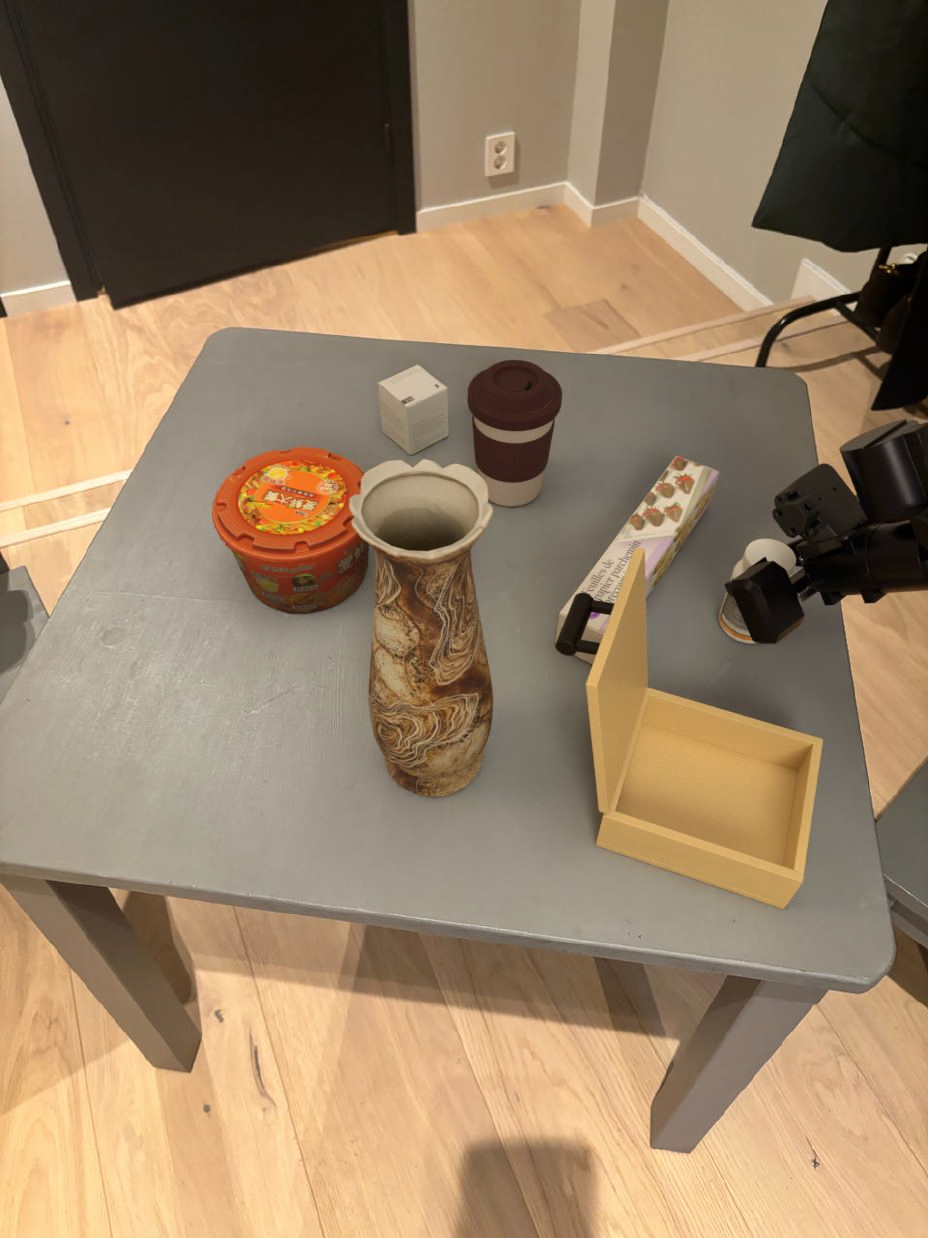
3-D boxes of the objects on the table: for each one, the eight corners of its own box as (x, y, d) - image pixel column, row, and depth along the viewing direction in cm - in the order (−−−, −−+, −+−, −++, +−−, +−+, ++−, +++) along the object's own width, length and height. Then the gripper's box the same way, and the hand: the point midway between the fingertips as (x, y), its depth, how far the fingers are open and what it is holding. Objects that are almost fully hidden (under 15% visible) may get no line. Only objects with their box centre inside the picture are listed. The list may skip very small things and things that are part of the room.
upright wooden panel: (645, 548, 67) (588, 540, 69) (597, 686, 59) (533, 674, 61) (648, 683, 79) (599, 674, 81) (608, 814, 71) (555, 801, 72)
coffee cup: (450, 481, 105) (448, 371, 93) (516, 448, 108) (522, 339, 97) (502, 529, 100) (508, 419, 88) (570, 493, 103) (583, 383, 92)
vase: (376, 806, 78) (339, 570, 55) (375, 705, 84) (342, 456, 62) (496, 799, 78) (509, 561, 55) (485, 698, 85) (493, 450, 62)
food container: (217, 625, 91) (192, 551, 82) (246, 515, 101) (227, 439, 93) (374, 629, 90) (365, 555, 82) (388, 518, 101) (381, 443, 92)
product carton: (420, 412, 113) (417, 362, 107) (450, 436, 110) (449, 386, 104) (380, 431, 111) (376, 381, 105) (410, 457, 107) (407, 406, 102)
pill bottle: (779, 646, 89) (809, 578, 81) (721, 645, 89) (745, 578, 81) (768, 603, 93) (795, 534, 85) (712, 602, 93) (735, 533, 85)
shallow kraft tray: (805, 770, 80) (823, 738, 76) (783, 910, 72) (803, 882, 68) (634, 718, 84) (643, 685, 79) (595, 845, 75) (602, 815, 71)
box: (600, 670, 87) (607, 634, 83) (552, 647, 89) (557, 610, 85) (710, 507, 102) (721, 469, 98) (667, 490, 104) (676, 452, 99)
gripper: (924, 420, 75) (782, 456, 89) (779, 517, 67) (649, 539, 81) (968, 540, 77) (823, 557, 91) (833, 647, 69) (697, 646, 83)
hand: (751, 571), depth 86 cm, fingers open, 7 cm apart
